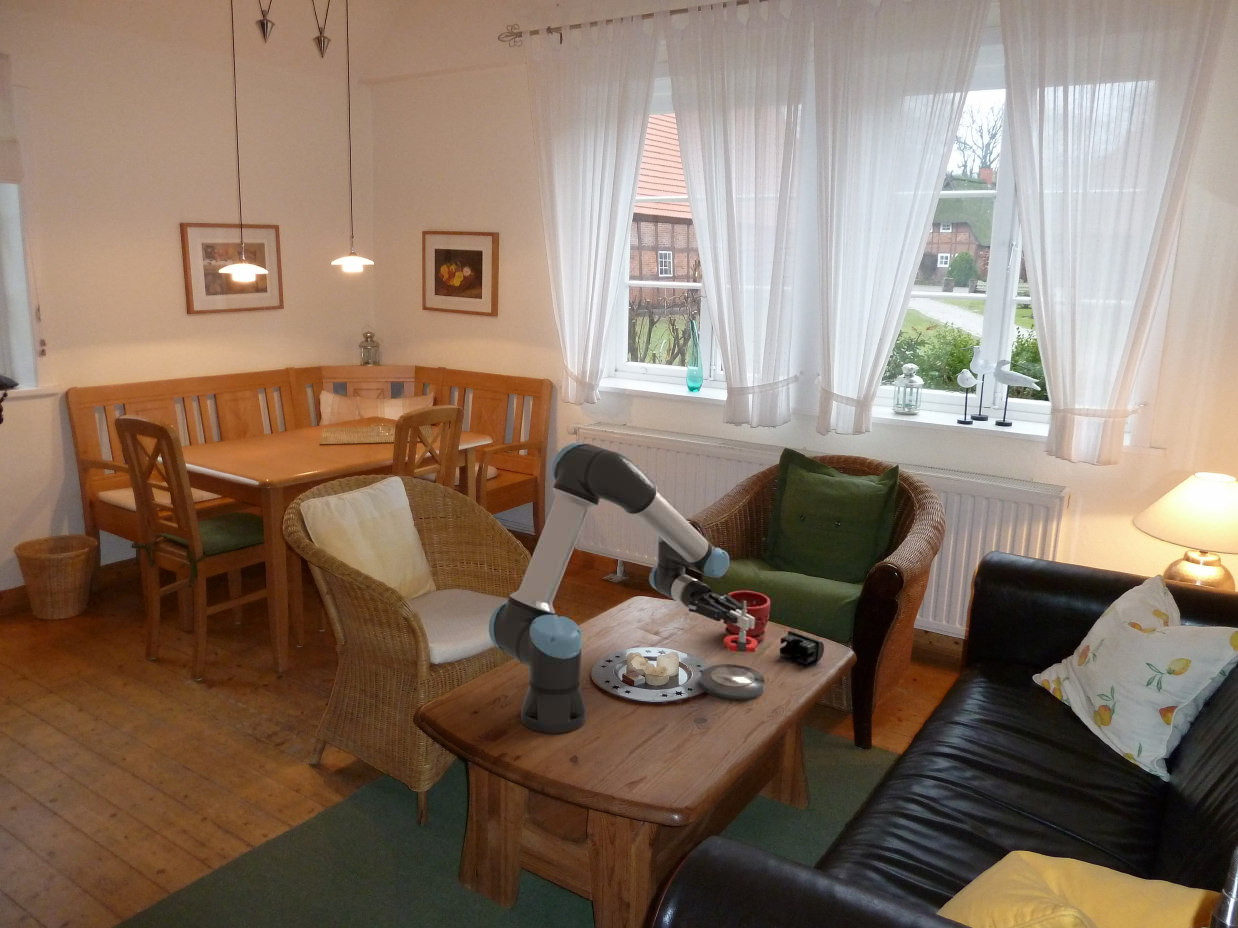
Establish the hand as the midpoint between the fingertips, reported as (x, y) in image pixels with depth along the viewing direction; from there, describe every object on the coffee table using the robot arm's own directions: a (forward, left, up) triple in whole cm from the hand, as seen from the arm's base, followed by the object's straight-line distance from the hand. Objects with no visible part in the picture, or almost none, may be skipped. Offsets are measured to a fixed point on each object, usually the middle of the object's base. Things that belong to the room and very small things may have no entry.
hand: (750, 623), depth 235 cm
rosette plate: (-2, +7, -20) cm, 21 cm away
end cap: (+20, +24, -20) cm, 37 cm away
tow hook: (-1, +6, -8) cm, 10 cm away
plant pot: (+7, +39, -20) cm, 44 cm away
